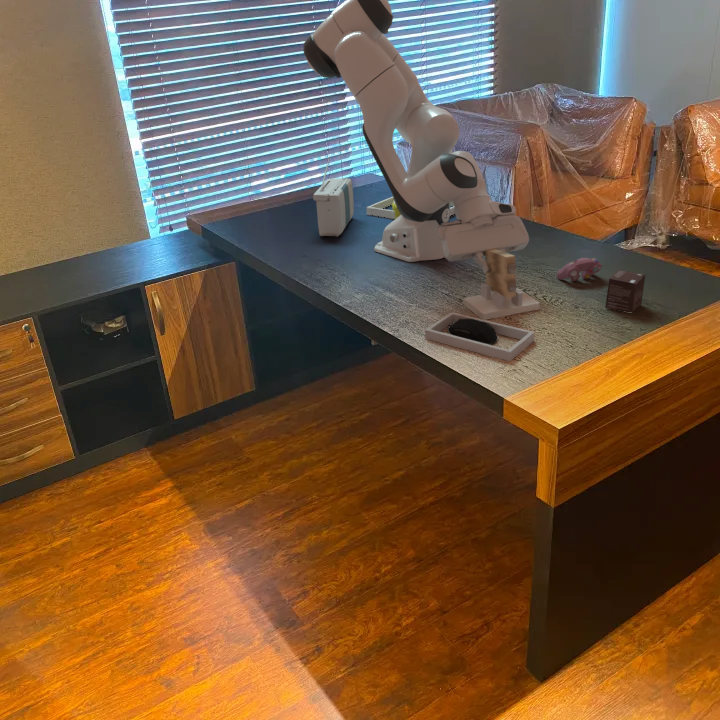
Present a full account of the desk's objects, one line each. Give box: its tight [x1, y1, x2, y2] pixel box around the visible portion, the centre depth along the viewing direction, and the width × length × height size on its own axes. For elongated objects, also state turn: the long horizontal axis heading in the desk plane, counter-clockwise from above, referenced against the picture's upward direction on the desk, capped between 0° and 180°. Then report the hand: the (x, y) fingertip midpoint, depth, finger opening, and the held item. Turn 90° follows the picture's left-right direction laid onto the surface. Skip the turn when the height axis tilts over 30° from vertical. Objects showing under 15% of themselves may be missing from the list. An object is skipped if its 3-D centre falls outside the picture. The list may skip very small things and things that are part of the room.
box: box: [604, 269, 646, 313], centre depth 156 cm, size 6×6×7 cm
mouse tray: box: [424, 311, 535, 362], centre depth 146 cm, size 20×11×2 cm, turn 52°
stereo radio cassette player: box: [312, 156, 355, 238], centre depth 218 cm, size 21×8×20 cm, turn 170°
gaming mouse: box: [447, 319, 499, 345], centre depth 149 cm, size 6×15×4 cm, turn 38°
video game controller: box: [556, 257, 603, 282], centre depth 172 cm, size 10×5×7 cm, turn 106°
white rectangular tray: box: [366, 196, 455, 220], centre depth 232 cm, size 26×21×2 cm
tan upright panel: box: [484, 249, 517, 298], centre depth 157 cm, size 11×2×9 cm, turn 18°
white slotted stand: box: [462, 282, 541, 321], centre depth 160 cm, size 10×14×4 cm
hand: (495, 270), depth 160 cm, fingers closed on tan upright panel, 2 cm apart
